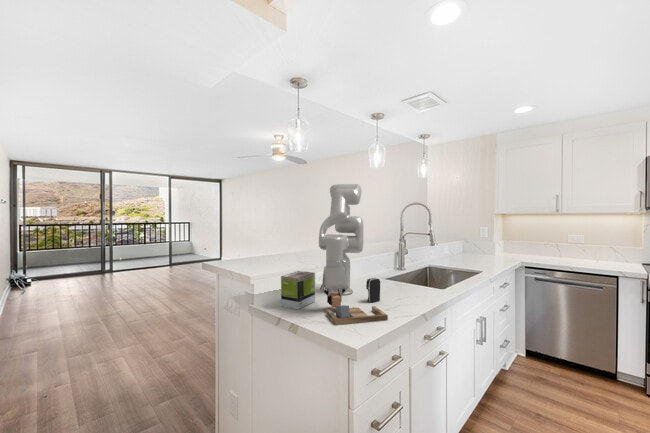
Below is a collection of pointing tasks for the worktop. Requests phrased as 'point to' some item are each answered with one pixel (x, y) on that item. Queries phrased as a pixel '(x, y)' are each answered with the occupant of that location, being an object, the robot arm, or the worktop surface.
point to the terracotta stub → (335, 299)
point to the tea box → (297, 289)
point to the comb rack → (358, 316)
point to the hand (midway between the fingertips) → (334, 303)
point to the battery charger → (373, 289)
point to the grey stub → (342, 311)
